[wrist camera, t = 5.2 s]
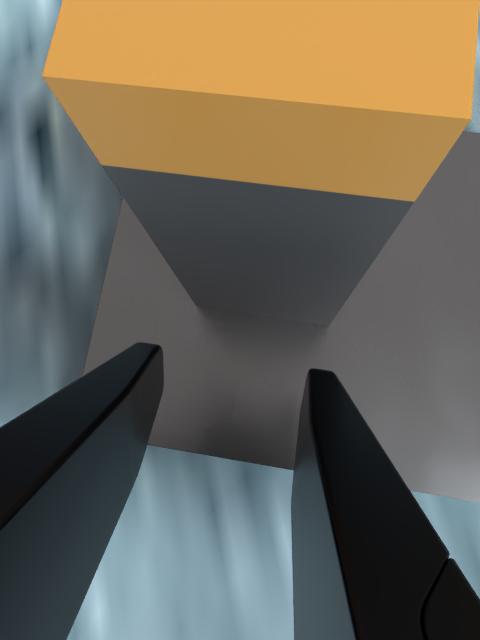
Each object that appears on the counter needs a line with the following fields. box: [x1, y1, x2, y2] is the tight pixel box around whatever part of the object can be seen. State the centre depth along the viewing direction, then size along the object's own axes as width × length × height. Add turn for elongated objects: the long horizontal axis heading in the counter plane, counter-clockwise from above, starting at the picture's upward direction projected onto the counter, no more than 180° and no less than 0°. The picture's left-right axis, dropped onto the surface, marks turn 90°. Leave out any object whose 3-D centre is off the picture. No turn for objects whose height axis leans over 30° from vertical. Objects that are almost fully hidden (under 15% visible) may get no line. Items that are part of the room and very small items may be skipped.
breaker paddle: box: [42, 0, 480, 326], centre depth 9 cm, size 2×4×10 cm, turn 81°
